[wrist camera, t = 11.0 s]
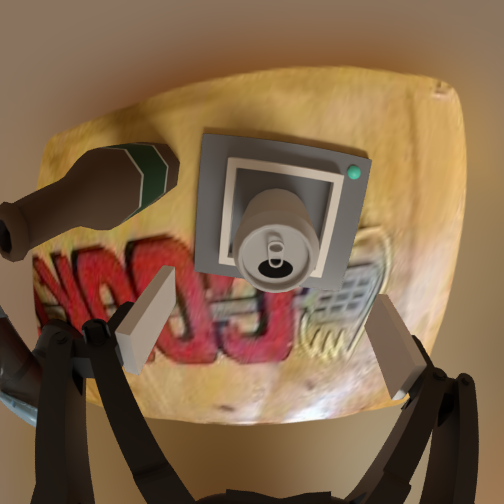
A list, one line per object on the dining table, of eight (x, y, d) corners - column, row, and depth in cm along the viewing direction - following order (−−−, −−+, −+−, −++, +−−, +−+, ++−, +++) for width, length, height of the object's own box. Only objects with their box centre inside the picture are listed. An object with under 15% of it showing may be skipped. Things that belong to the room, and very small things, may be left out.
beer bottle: (188, 191, 33) (60, 293, 11) (137, 204, 34) (2, 298, 12) (174, 132, 30) (14, 149, 8) (123, 150, 31) (-34, 194, 9)
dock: (196, 267, 37) (191, 276, 35) (205, 133, 30) (199, 133, 28) (338, 287, 37) (341, 297, 35) (369, 159, 30) (376, 161, 27)
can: (245, 245, 34) (231, 299, 23) (244, 186, 31) (226, 215, 20) (305, 247, 34) (317, 301, 23) (308, 187, 31) (326, 217, 20)
